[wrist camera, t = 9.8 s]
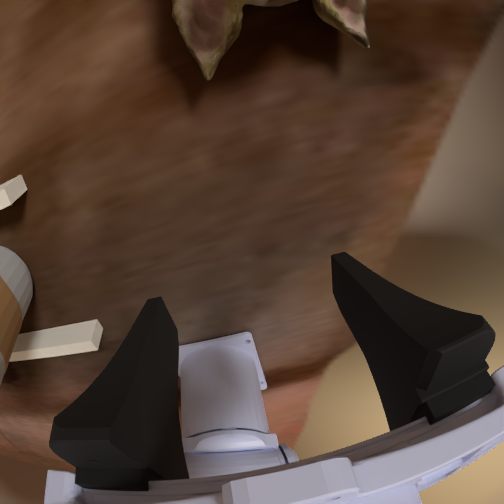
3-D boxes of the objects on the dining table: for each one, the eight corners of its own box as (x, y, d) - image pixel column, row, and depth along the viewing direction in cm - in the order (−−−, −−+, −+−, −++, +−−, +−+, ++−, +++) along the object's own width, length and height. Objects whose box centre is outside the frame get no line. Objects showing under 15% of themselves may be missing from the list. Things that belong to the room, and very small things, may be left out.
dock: (103, 328, 25) (97, 350, 23) (6, 345, 25) (-1, 362, 23) (21, 174, 17) (4, 188, 15) (-69, 227, 17) (-84, 242, 15)
